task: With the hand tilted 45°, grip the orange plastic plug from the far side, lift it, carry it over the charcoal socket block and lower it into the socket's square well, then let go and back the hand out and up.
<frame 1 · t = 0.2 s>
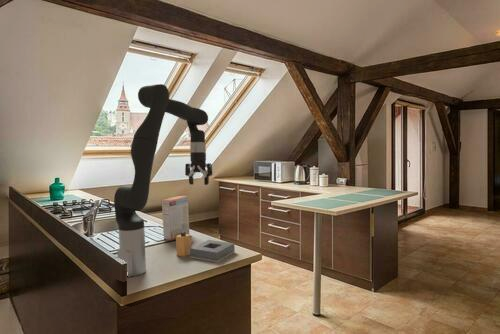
hand: (198, 184, 167), 29 cm above the countertop, tool pointing down, fingers open, 8 cm apart
cracker box: (176, 237, 179), on the countertop
flask: (184, 244, 166), on the countertop
socket block: (212, 254, 148), on the countertop
plug: (183, 254, 150), on the countertop
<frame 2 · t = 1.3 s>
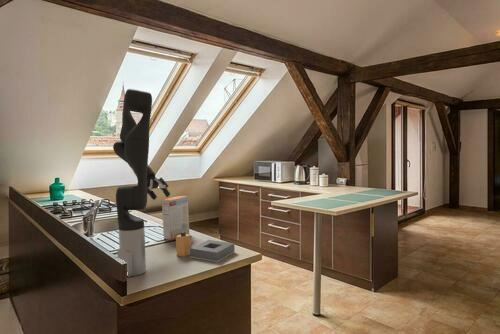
hand: (162, 197, 155), 25 cm above the countertop, tool tilted 45°, fingers open, 8 cm apart
nothing on the countertop moved.
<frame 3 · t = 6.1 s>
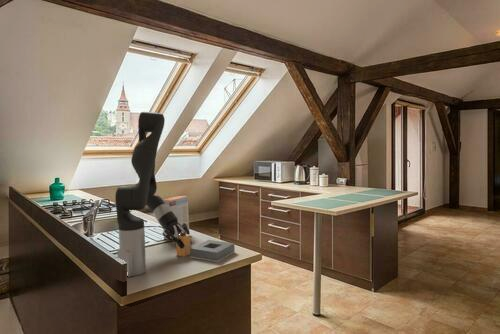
hand: (186, 245, 149), 4 cm above the countertop, tool tilted 45°, fingers closed on plug, 4 cm apart
plug: (183, 254, 150), on the countertop, touching gripper
everything else where it was.
when the fingers open (6 cm above the countertop, at t = 12.0 s): plug stays where it is, resting on socket block.
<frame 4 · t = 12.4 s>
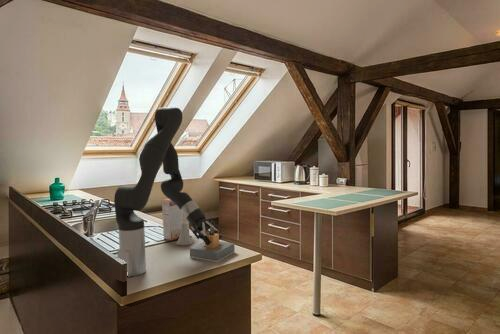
hand: (215, 241, 147), 6 cm above the countertop, tool tilted 45°, fingers open, 8 cm apart
plug: (212, 253, 148), resting on socket block
everything else where it was.
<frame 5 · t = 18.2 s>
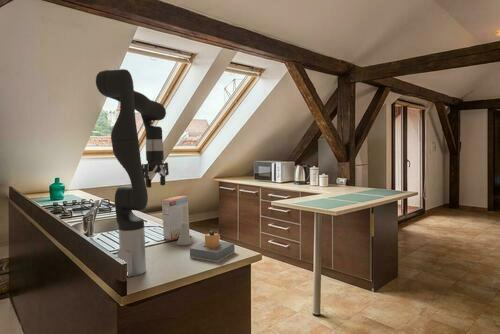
hand: (156, 186, 151), 30 cm above the countertop, tool pointing down, fingers open, 8 cm apart
nothing on the countertop moved.
at the end: plug 0.1 cm off-centre on the socket block, point 0.5 cm above the socket block's base; plug tilted 0°; the gripper is holding nothing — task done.
